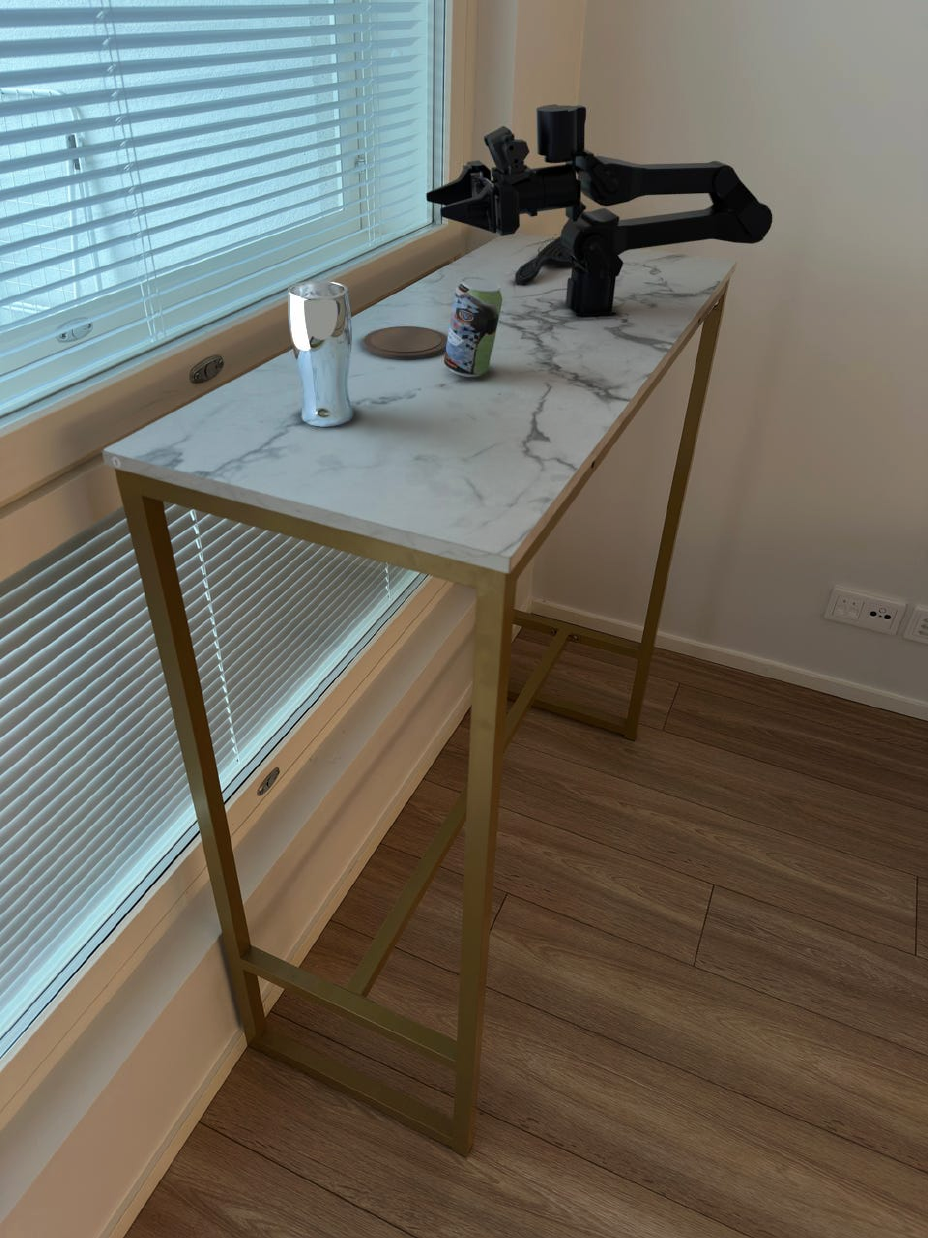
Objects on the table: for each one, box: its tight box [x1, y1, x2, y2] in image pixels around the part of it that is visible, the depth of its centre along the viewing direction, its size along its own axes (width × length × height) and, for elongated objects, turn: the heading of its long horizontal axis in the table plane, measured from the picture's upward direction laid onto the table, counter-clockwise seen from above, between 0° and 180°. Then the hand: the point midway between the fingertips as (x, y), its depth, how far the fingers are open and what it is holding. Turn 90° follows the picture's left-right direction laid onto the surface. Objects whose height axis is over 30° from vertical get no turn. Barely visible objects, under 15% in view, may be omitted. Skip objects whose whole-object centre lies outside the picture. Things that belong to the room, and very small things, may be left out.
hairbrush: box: [514, 233, 577, 286], centre depth 161 cm, size 8×4×25 cm
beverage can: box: [443, 276, 503, 378], centre depth 117 cm, size 6×7×12 cm
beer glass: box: [287, 280, 354, 428], centre depth 104 cm, size 7×7×15 cm
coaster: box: [363, 325, 448, 361], centre depth 129 cm, size 12×12×1 cm
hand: (433, 204), depth 128 cm, fingers open, 9 cm apart
